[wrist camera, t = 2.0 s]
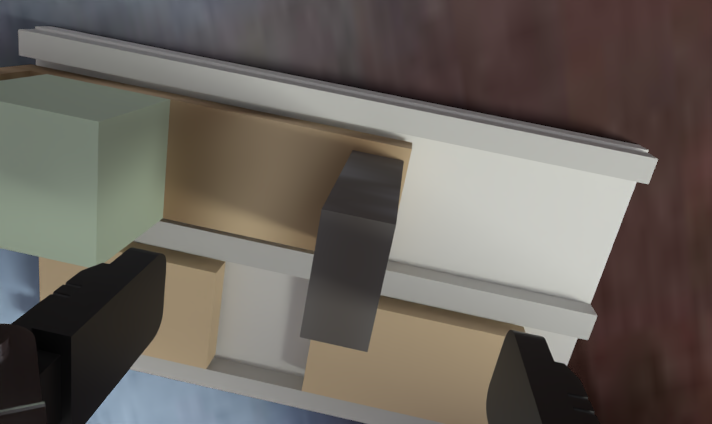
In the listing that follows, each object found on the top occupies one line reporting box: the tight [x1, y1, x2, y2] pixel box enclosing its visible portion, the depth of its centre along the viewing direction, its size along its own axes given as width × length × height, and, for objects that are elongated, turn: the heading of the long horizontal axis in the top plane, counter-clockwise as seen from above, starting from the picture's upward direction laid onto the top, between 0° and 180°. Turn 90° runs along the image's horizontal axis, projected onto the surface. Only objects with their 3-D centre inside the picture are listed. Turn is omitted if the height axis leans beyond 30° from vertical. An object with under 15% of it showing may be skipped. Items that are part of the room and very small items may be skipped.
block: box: [0, 74, 170, 268], centre depth 20 cm, size 5×5×5 cm
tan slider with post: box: [0, 64, 412, 352], centre depth 19 cm, size 16×5×8 cm, turn 80°
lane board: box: [18, 26, 658, 424], centre depth 24 cm, size 25×15×2 cm, turn 80°
